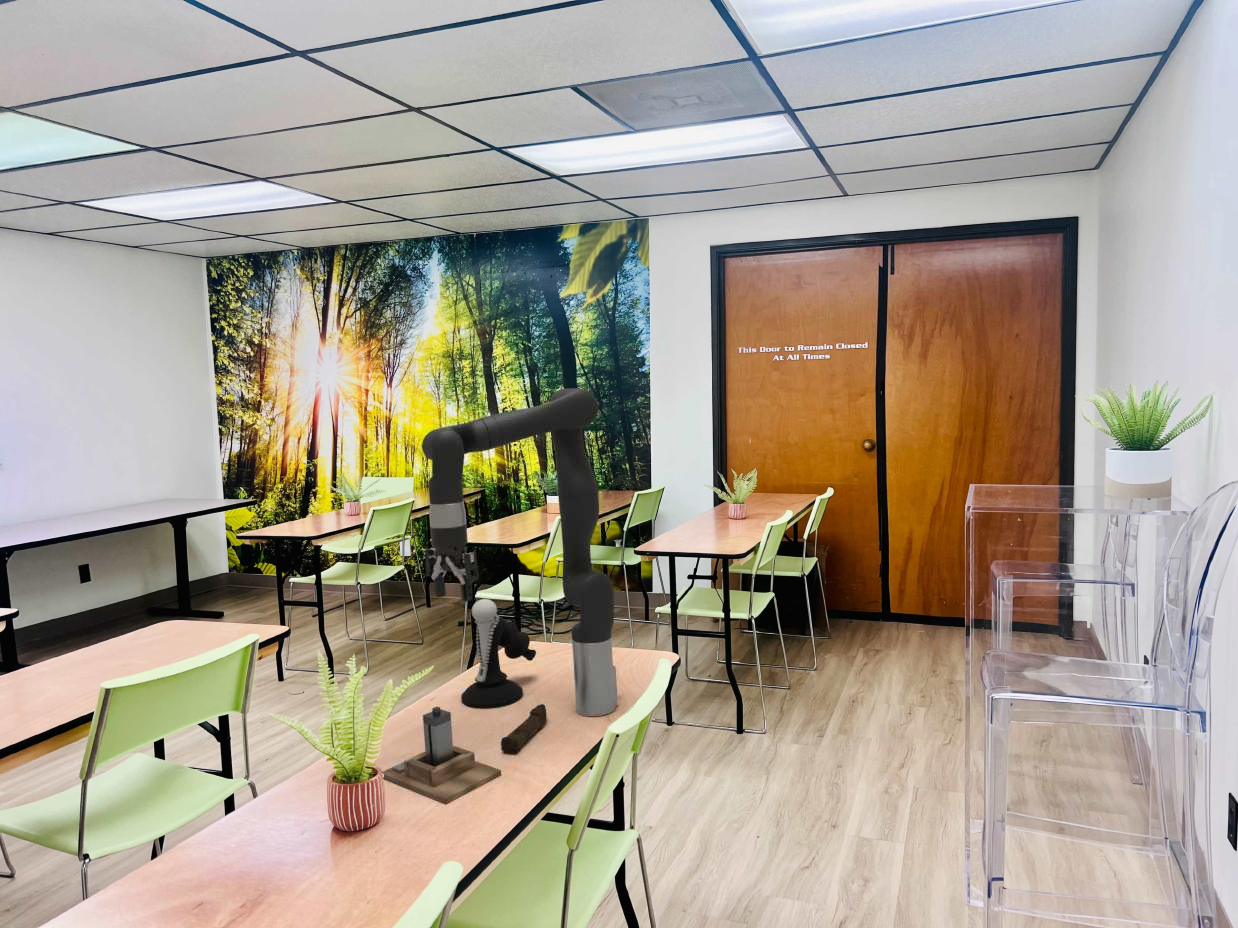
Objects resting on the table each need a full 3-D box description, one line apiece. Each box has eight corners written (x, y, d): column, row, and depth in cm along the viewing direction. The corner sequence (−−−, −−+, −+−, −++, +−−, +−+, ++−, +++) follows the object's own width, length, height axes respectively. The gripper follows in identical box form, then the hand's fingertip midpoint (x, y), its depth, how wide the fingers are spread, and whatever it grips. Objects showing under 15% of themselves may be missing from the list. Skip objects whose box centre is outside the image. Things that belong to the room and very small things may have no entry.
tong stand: (436, 751, 181) (434, 733, 181) (501, 774, 168) (499, 755, 168) (380, 777, 170) (379, 758, 170) (445, 803, 158) (444, 783, 157)
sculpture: (448, 702, 210) (441, 603, 207) (511, 672, 229) (505, 581, 227) (495, 712, 201) (488, 609, 199) (556, 681, 221) (550, 586, 219)
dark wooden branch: (517, 756, 177) (516, 735, 177) (500, 754, 179) (499, 733, 178) (557, 722, 195) (556, 702, 194) (541, 720, 196) (540, 700, 196)
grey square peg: (442, 763, 172) (438, 702, 171) (454, 768, 170) (450, 706, 169) (426, 771, 169) (421, 709, 168) (438, 776, 167) (434, 713, 165)
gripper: (484, 522, 178) (489, 598, 180) (440, 518, 187) (445, 591, 189) (456, 528, 173) (462, 606, 174) (412, 524, 182) (418, 598, 183)
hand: (453, 598), depth 181 cm, fingers open, 8 cm apart
